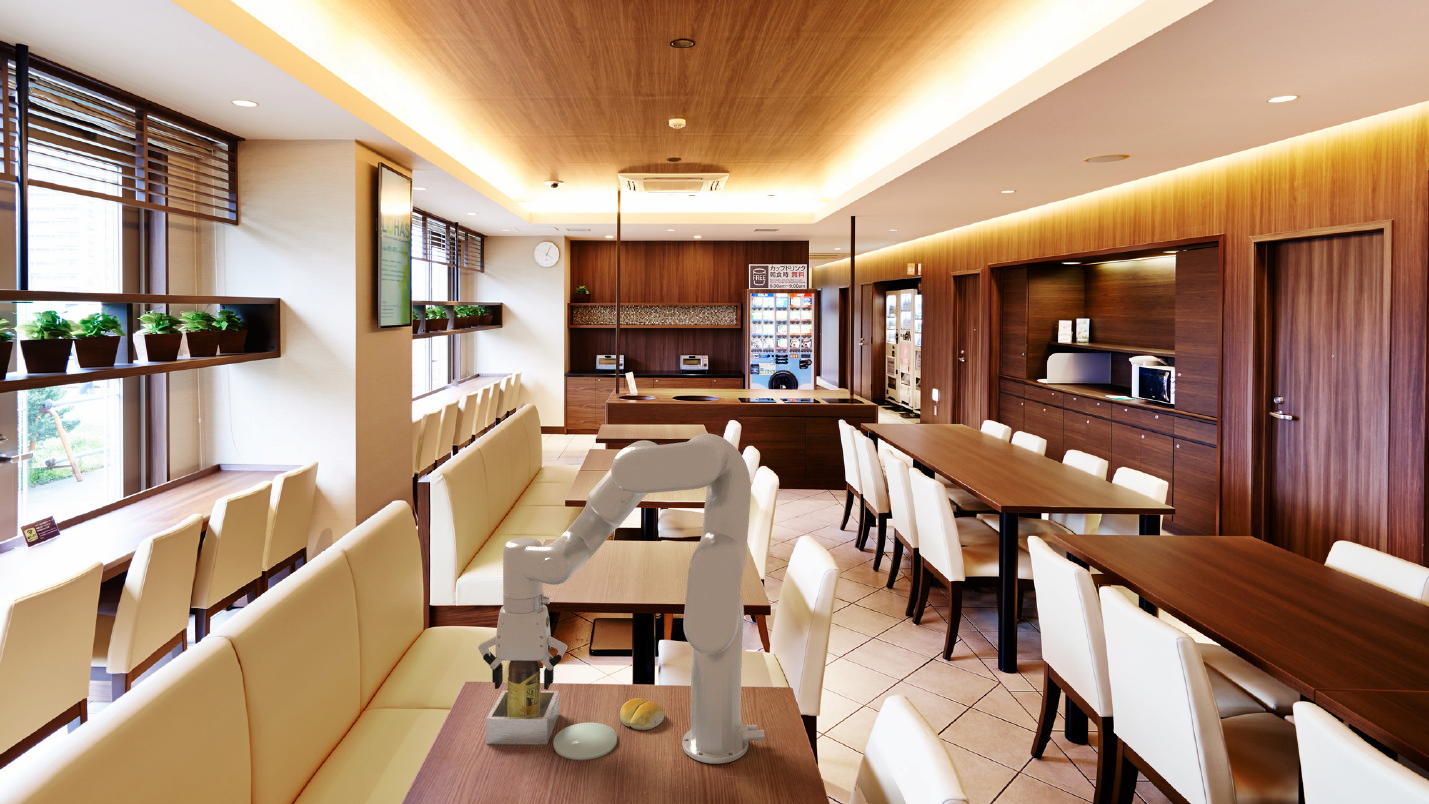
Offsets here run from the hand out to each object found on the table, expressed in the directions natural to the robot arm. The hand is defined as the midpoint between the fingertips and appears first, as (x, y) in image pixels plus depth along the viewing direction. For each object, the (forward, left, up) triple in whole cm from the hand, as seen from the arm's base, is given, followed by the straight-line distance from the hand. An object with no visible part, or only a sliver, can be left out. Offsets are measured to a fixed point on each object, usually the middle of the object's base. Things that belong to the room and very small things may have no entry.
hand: (523, 686), depth 146 cm
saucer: (-13, +5, -9) cm, 17 cm away
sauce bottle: (0, 0, -9) cm, 9 cm away
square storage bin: (0, 0, -9) cm, 9 cm away
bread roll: (-23, -4, -9) cm, 25 cm away
